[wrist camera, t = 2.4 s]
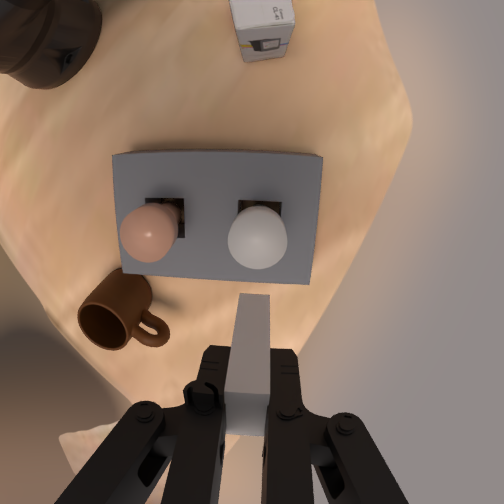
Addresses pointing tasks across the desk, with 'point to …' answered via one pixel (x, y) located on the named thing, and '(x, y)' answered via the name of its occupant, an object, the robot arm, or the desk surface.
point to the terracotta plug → (150, 230)
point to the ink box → (262, 27)
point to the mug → (121, 313)
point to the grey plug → (257, 237)
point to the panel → (221, 208)
